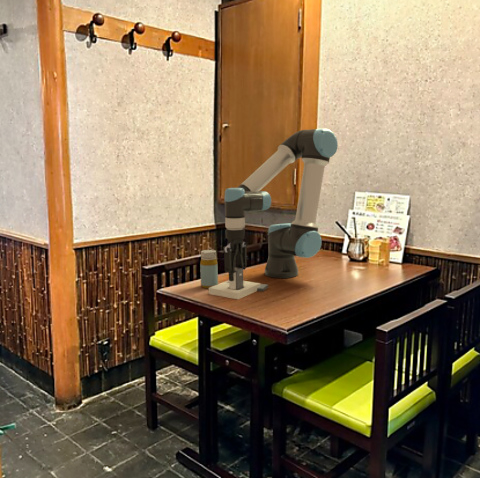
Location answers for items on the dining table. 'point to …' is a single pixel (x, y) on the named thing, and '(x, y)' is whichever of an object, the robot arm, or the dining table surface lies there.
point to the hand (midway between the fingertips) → (236, 287)
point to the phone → (262, 287)
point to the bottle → (208, 269)
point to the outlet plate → (224, 290)
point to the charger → (239, 278)
